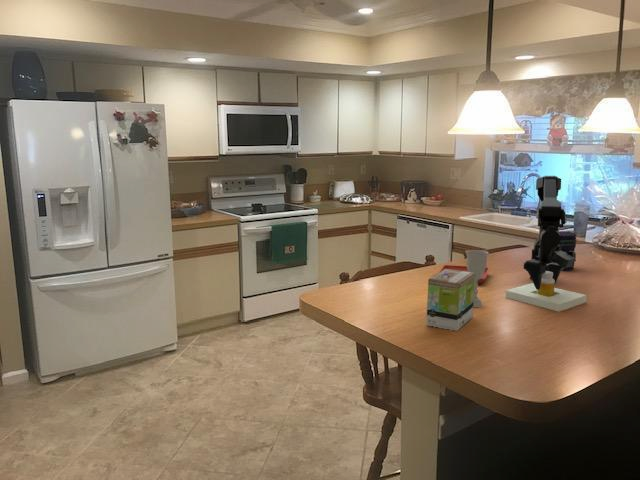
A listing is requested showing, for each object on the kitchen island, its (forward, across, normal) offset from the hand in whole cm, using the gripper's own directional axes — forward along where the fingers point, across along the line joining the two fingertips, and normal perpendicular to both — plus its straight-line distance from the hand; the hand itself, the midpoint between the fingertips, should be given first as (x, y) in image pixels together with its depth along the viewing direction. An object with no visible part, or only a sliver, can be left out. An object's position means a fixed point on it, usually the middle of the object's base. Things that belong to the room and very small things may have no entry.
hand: (545, 287), depth 183 cm
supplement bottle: (+5, 0, 0) cm, 5 cm away
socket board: (+4, 0, 0) cm, 4 cm away
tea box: (+5, -42, +5) cm, 43 cm away
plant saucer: (+5, +1, +36) cm, 36 cm away
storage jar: (+5, +45, +21) cm, 50 cm away
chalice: (+5, -23, +11) cm, 26 cm away
